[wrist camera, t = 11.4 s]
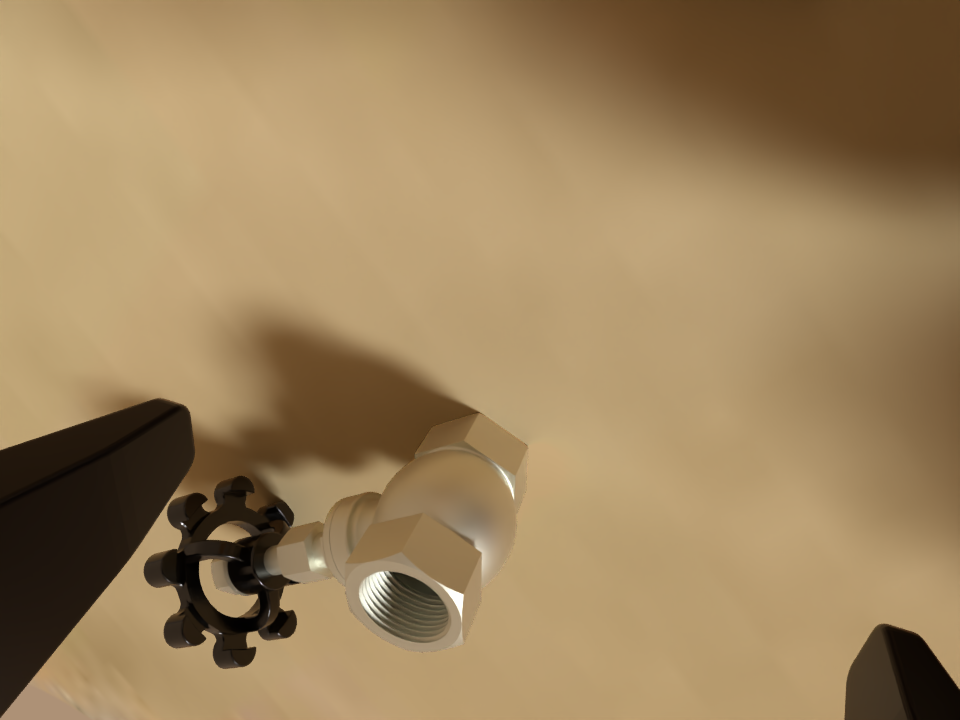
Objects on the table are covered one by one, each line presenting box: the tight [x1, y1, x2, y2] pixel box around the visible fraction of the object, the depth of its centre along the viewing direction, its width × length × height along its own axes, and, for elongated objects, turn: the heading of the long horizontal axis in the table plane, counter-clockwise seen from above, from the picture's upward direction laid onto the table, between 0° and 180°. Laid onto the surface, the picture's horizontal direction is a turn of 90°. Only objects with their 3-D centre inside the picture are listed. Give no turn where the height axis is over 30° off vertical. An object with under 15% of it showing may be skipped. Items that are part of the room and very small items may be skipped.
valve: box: [144, 413, 528, 669], centre depth 25 cm, size 7×7×12 cm
